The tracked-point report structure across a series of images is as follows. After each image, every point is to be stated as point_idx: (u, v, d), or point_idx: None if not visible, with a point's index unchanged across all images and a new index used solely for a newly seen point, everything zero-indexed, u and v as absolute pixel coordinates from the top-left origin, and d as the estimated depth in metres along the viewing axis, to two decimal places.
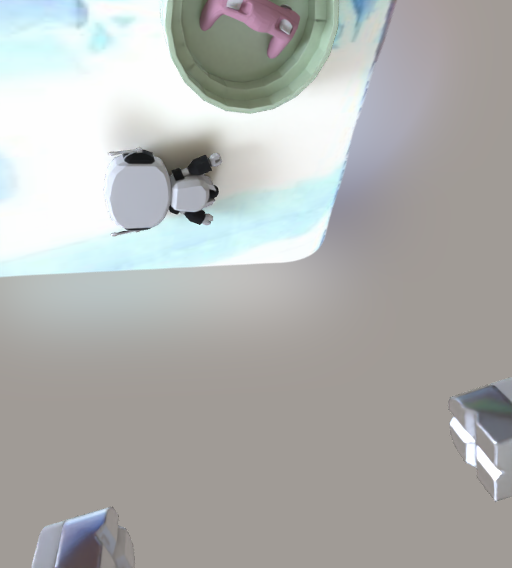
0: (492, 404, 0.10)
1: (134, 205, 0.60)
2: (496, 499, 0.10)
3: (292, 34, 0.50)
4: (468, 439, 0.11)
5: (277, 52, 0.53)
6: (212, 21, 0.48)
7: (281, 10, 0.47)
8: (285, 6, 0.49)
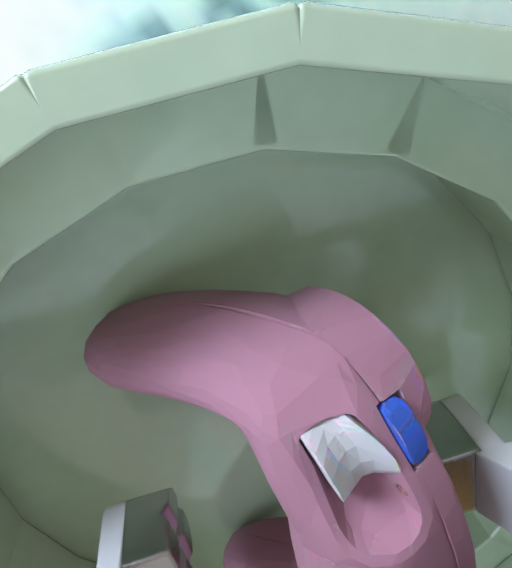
0: (437, 422, 0.10)
1: None
2: None
3: None
4: None
5: None
6: (160, 393, 0.08)
7: None
8: None
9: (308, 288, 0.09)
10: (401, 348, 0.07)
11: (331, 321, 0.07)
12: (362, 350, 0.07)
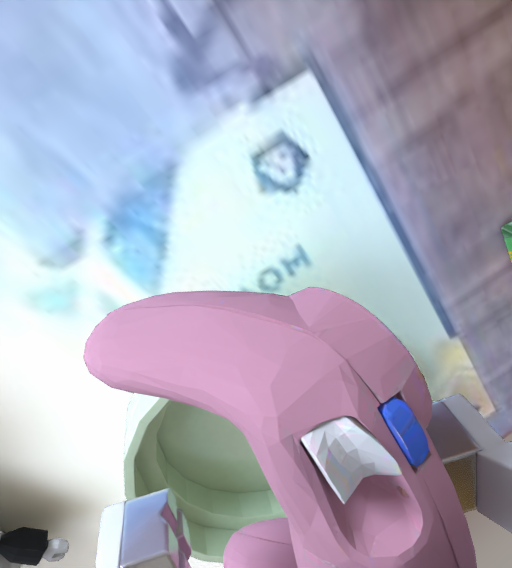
0: (438, 421, 0.10)
1: None
2: None
3: None
4: None
5: None
6: (159, 395, 0.08)
7: None
8: None
9: (309, 289, 0.08)
10: (402, 350, 0.07)
11: (332, 323, 0.07)
12: (363, 352, 0.07)
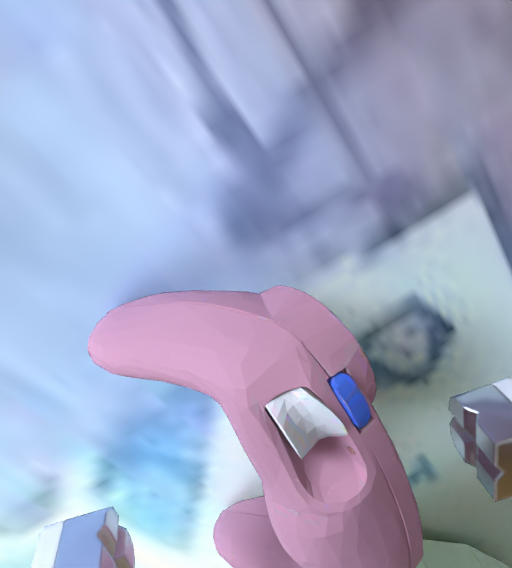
0: (492, 404, 0.10)
1: None
2: (496, 499, 0.10)
3: None
4: (468, 439, 0.11)
5: None
6: (152, 377, 0.10)
7: (417, 550, 0.11)
8: None
9: (275, 287, 0.10)
10: (347, 334, 0.09)
11: (291, 313, 0.09)
12: (315, 336, 0.09)
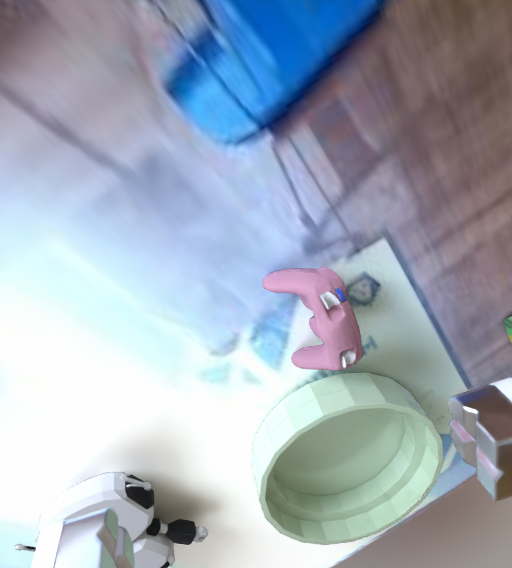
0: (492, 404, 0.10)
1: None
2: (496, 499, 0.10)
3: (344, 368, 0.39)
4: (469, 440, 0.11)
5: (309, 367, 0.41)
6: (287, 291, 0.37)
7: (359, 342, 0.37)
8: None
9: (321, 267, 0.37)
10: (340, 279, 0.36)
11: (326, 273, 0.36)
12: (332, 279, 0.36)
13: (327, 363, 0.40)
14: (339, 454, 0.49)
